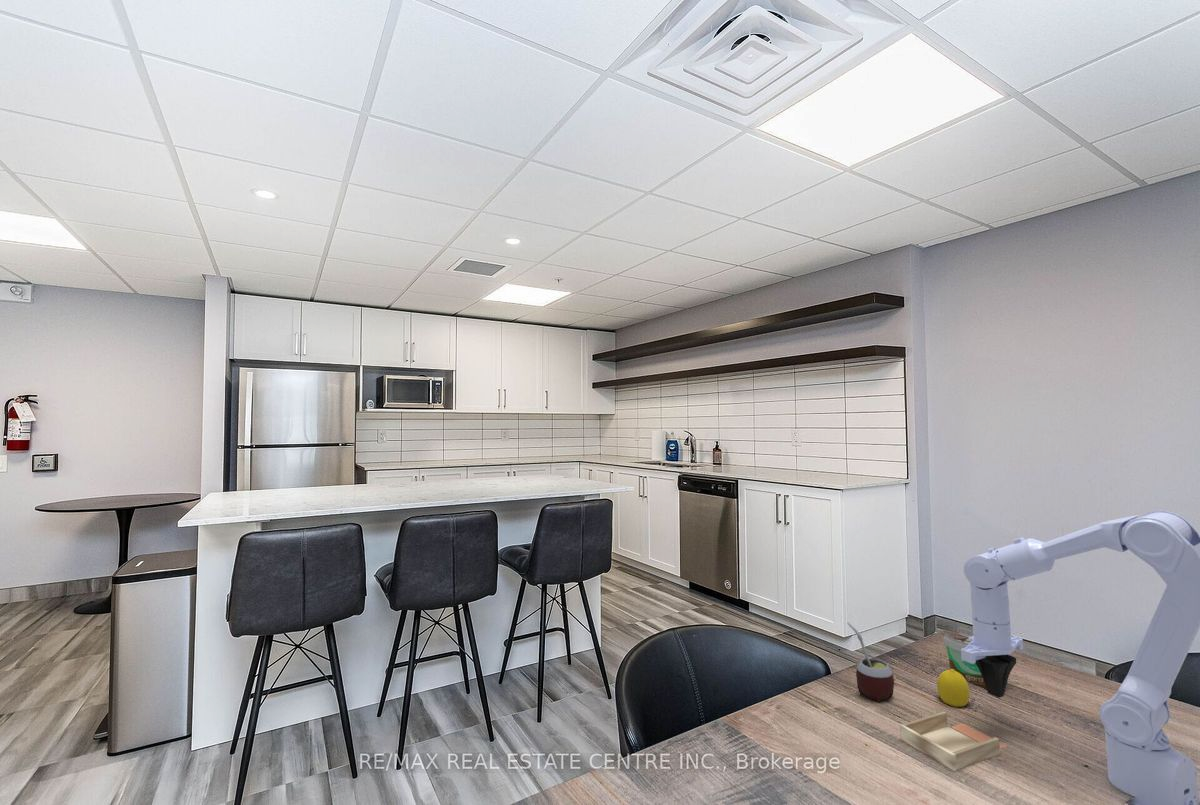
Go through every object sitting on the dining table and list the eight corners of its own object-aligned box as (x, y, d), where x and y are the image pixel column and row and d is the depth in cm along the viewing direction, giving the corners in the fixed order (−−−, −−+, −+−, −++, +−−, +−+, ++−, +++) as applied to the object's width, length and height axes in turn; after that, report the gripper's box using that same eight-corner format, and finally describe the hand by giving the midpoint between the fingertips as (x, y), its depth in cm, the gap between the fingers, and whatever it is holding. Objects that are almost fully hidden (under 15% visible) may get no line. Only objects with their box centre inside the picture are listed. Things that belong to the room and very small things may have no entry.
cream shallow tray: (1000, 762, 94) (999, 738, 94) (954, 780, 90) (953, 755, 90) (944, 732, 103) (943, 711, 103) (900, 747, 99) (899, 725, 99)
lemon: (975, 717, 108) (973, 676, 108) (944, 715, 109) (942, 674, 109) (963, 703, 113) (961, 664, 114) (933, 701, 115) (931, 662, 115)
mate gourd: (898, 712, 111) (894, 637, 111) (856, 708, 113) (852, 634, 113) (890, 695, 118) (886, 624, 118) (850, 691, 120) (846, 621, 120)
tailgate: (995, 750, 95) (1017, 742, 97) (950, 727, 102) (972, 720, 105) (995, 756, 95) (1017, 748, 97) (950, 732, 102) (972, 725, 104)
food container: (953, 690, 119) (950, 643, 119) (944, 677, 125) (942, 633, 125) (1020, 696, 115) (1017, 648, 116) (1007, 683, 121) (1005, 637, 122)
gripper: (993, 607, 108) (998, 677, 107) (943, 619, 102) (947, 693, 102) (1033, 618, 101) (1038, 693, 101) (982, 631, 96) (986, 711, 95)
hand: (995, 694), depth 101 cm, fingers closed
